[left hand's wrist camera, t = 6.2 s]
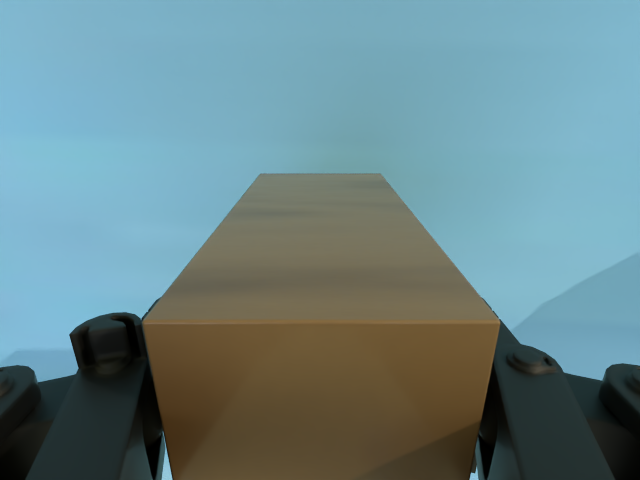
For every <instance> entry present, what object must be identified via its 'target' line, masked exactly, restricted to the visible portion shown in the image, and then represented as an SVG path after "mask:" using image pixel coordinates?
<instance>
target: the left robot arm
mask: <svg viewBox="0 0 640 480" xmlns="http://www.w3.org/2000/svg"><path fill="white" fill-rule="evenodd" d="M159 299H160V298H159ZM159 299H157V300H156V301H155V302H154V304H153V305H152V306H151V307H150V309H149V310H148V312H146V314H145V315H144V316H143V317H142V320H141V319H140V318H139V317H138V316H136V315H135V314H131V313H126V312H123V313H110V314H106V315H101V316H98V317H95V318H93V319H90V320H88V321H86V322H84V323H82V324H81V325H79V326H78V327H76V328H75V329H74V330H73V331H72V332H71V333H70V334H69V335H70V339H71V343H72V346H73V350H74V353H75V357H76V361H77V364H78V368H79V369H78V371H77V373H76V374H75V375H71V376H67V377H62V378H58V379H53V380H48V381H43V382H37V379H36V376H35V373H34V371H33V370H32V369H31V368H29V367H27V366H19V365H16V366H8V367H1V368H0V480H161V479H162V471H163V463H164V455H165V442H164V436H163V427H162V422H161V417H160V412H159V407H158V402H157V397H156V392H155V387H154V381H153V376H152V371H151V366H150V361H149V356H148V351H147V346H146V340H145V335H144V330H143V325H142V322H143V319H144V318H145V317H146V316H147V314H148V313H149V312H150V311H151V309H152V308H153V307H154V306H155V304H156V303H157V302H158V301H159ZM482 299H483V298H482ZM483 300H484V299H483ZM484 302H485V303H486V304H487V302H486V301H485V300H484ZM487 305H488V304H487ZM488 307H489V308H490V309H491V307H490V306H489V305H488ZM491 310H492V309H491ZM493 313H494V314H495V315H496V313H495V312H494V311H493ZM496 316H497V315H496ZM497 318H498V316H497ZM498 319H499V318H498ZM499 320H500V319H499ZM476 467H477V470H478V478H479V480H640V366H638V365H630V364H615V365H611V366H610V367H609V368H607V369H606V372H605V375H604V378H603V381H600V380H596V379H591V378H586V377H581V376H576V375H571V374H567V373H564V372H563V370H562V368H561V367H560V366H559V364H558V363H557V362H556V360H555V359H553V358H552V357H550V356H549V355H547V354H546V353H545V352H542V351H540V350H538V349H536V348H533V347H530V346H526V345H522V344H520V343H519V342H518V340H517V339H516V338H515V337H514V335H513V334H512V333H511V332H510V331H509V329H508V328H507V327H506V326H505V324H504V323H503V322H502V321H501V320H500V328H499V333H498V338H497V343H496V348H495V353H494V358H493V363H492V368H491V373H490V378H489V383H488V388H487V393H486V398H485V403H484V408H483V414H482V419H481V424H480V429H479V434H478V439H477V444H476V449H475V454H474V459H473V464H472V469H471V472H472V473H475V471H476Z"/></svg>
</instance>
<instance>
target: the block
mask: <svg viewBox="0 0 640 480" xmlns="http://www.w3.org/2000/svg"><path fill="white" fill-rule="evenodd" d="M142 325H143V330H144V335H145V340H146V346H147V351H148V356H149V361H150V366H151V371H152V376H153V381H154V387H155V392H156V397H157V402H158V407H159V412H160V417H161V422H162V427H163V433H164V438H165V443H166V448H167V453H168V458H169V463H170V468H171V474H172V479H173V480H469V479H470V474H471V469H472V464H473V459H474V454H475V449H476V444H477V439H478V434H479V429H480V424H481V419H482V414H483V408H484V403H485V398H486V393H487V388H488V383H489V378H490V373H491V368H492V363H493V358H494V353H495V348H496V343H497V338H498V333H499V328H500V320H499V319H498V318H497V316H496V315H495V314H494V313H493V311H492V310H491V309H490V308H489V307H488V305H487V304H486V303H485V302H484V300H483V299H482V298H481V297H480V295H479V294H478V293H477V292H476V291H475V289H474V288H473V287H472V286H471V284H470V283H469V282H468V281H467V279H466V278H465V277H464V276H463V274H462V273H461V272H460V271H459V270H458V268H457V267H456V266H455V265H454V263H453V262H452V261H451V260H450V258H449V257H448V256H447V255H446V254H445V252H444V251H443V250H442V249H441V247H440V246H439V245H438V244H437V242H436V241H435V240H434V239H433V238H432V236H431V235H430V234H429V233H428V231H427V230H426V229H425V228H424V226H423V225H422V224H421V223H420V222H419V220H418V219H417V218H416V217H415V215H414V214H413V213H412V212H411V210H410V209H409V208H408V207H407V206H406V204H405V203H404V202H403V201H402V199H401V198H400V197H399V196H398V194H397V193H396V192H395V191H394V189H393V188H392V187H391V186H390V185H389V183H388V182H387V181H386V180H385V178H384V177H383V176H382V175H381V174H260V175H259V176H258V177H257V178H256V180H255V181H254V182H253V183H252V185H251V186H250V187H249V188H248V190H247V191H246V192H245V193H244V195H243V196H242V197H241V198H240V200H239V201H238V202H237V203H236V205H235V206H234V207H233V208H232V210H231V211H230V212H229V213H228V215H227V216H226V217H225V218H224V220H223V221H222V222H221V223H220V225H219V226H218V227H217V228H216V230H215V231H214V232H213V233H212V235H211V236H210V237H209V238H208V240H207V241H206V242H205V243H204V244H203V246H202V247H201V248H200V249H199V251H198V252H197V253H196V254H195V256H194V257H193V258H192V259H191V261H190V262H189V263H188V264H187V266H186V267H185V268H184V269H183V271H182V272H181V273H180V274H179V276H178V277H177V278H176V279H175V281H174V282H173V283H172V284H171V286H170V287H169V288H168V289H167V291H166V292H165V293H164V294H163V296H162V297H161V298H160V299H159V301H158V302H157V303H156V304H155V306H154V307H153V308H152V309H151V311H150V312H149V313H148V314H147V316H146V317H145V318H144V319H143V322H142Z"/></svg>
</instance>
